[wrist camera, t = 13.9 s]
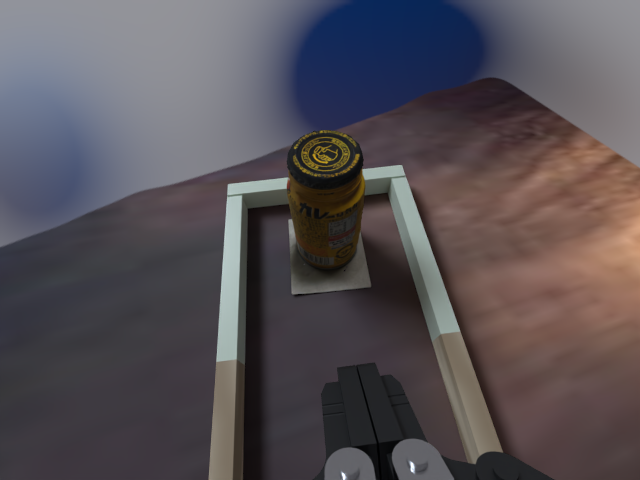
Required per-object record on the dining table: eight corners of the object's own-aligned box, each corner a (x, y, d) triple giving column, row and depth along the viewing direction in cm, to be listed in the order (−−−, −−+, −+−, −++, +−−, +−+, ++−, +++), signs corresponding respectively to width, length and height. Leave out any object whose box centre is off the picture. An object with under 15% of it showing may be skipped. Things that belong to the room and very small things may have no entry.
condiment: (356, 214, 33) (366, 116, 22) (371, 287, 28) (392, 207, 18) (288, 220, 33) (267, 125, 22) (292, 295, 28) (268, 219, 18)
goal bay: (226, 367, 25) (216, 361, 23) (234, 199, 34) (228, 184, 32) (449, 339, 25) (460, 331, 23) (397, 181, 35) (401, 165, 33)
